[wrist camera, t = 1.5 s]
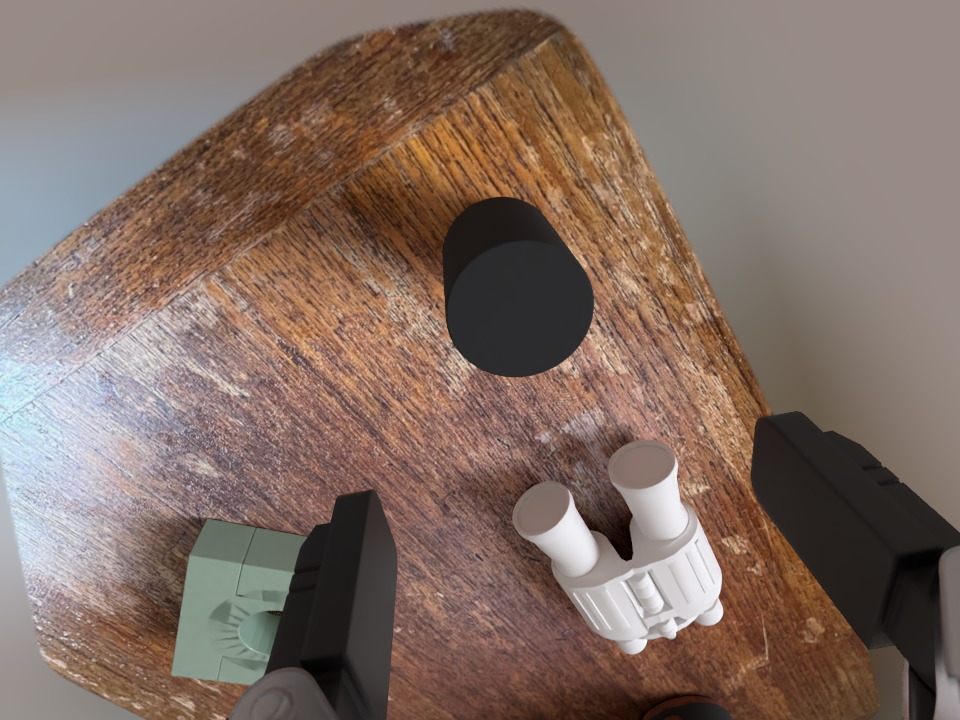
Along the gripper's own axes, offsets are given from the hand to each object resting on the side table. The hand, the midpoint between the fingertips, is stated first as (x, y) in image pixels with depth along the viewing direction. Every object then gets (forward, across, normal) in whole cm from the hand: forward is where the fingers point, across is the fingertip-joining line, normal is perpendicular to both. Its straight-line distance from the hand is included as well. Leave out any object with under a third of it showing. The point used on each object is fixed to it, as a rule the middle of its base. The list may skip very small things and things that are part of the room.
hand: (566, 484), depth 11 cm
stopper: (+18, 0, 0) cm, 18 cm away
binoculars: (+18, -6, +22) cm, 29 cm away
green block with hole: (+18, +18, +22) cm, 34 cm away
